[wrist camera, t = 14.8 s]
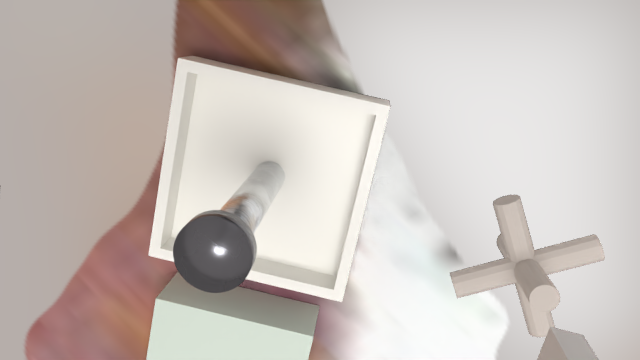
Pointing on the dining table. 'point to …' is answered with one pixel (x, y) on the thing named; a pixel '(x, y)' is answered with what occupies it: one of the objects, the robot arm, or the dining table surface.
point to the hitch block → (229, 325)
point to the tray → (277, 146)
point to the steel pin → (227, 234)
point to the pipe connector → (526, 266)
